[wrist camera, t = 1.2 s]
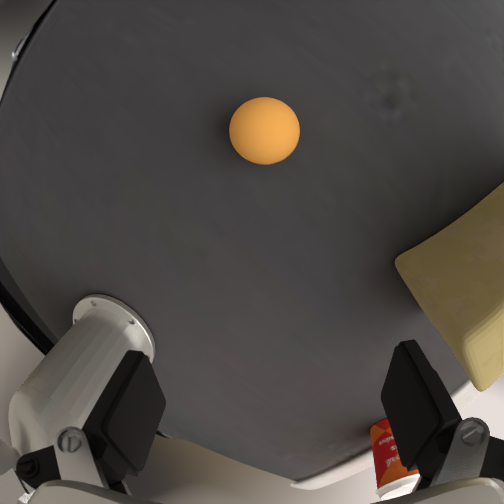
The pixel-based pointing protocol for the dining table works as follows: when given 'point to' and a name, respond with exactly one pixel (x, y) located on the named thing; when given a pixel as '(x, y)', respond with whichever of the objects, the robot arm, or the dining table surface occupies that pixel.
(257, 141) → the ball
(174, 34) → the dining table surface
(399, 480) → the paper cup
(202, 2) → the dining table surface
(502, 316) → the cheese
